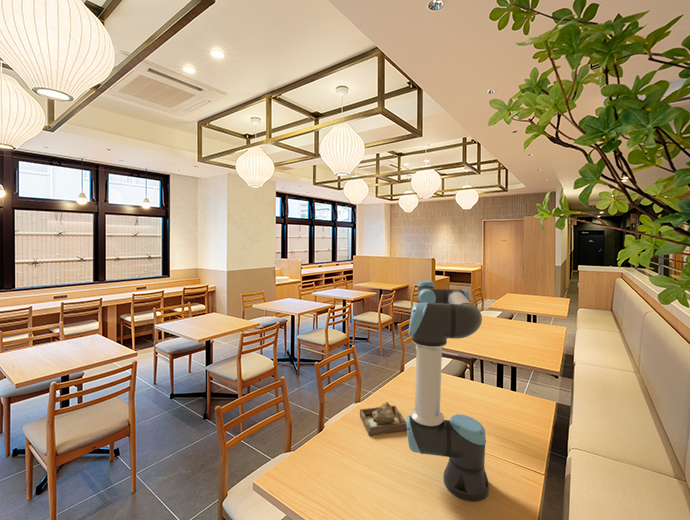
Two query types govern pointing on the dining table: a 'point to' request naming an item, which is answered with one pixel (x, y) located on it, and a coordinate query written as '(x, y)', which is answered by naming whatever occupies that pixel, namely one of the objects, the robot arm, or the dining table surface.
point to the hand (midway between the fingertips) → (424, 354)
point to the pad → (372, 423)
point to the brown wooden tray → (383, 428)
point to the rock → (383, 414)
